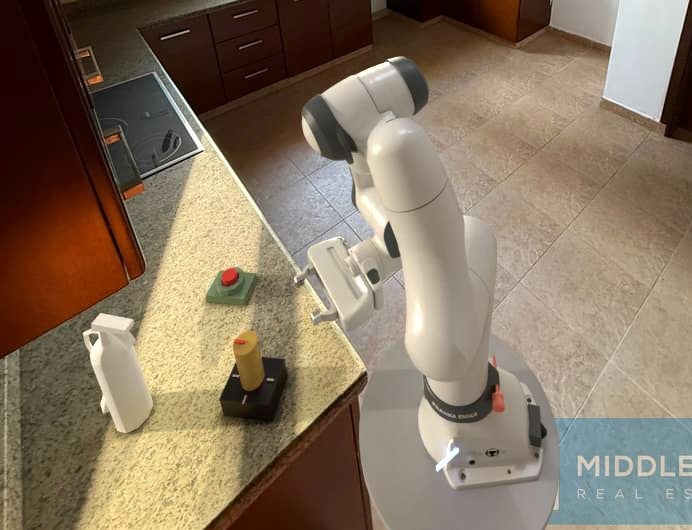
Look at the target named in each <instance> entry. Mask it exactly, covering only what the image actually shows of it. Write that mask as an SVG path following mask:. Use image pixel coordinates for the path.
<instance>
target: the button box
mask: <svg viewBox="0 0 692 530" xmlns="http://www.w3.org/2000/svg"><path fill="white" fill-rule="evenodd" d="M230 268H234V269H236V270H237V274H238V280H237V282H236V283H235V284H233V285H231V286H224V285H223V282H222V274H223V273H224V272H225V271H226V270H228V269H230ZM257 281H258V274H257V272H249V271H247V272H246V271H245V270H243V269H242V268H241V267H240V266H239V267H238V266H232V267H229V268H227V269H225V270H222V269H219V271H218V273H217V274H216V276H215V277H214V280H213V281H212V284H211V285H210V287H209V288H208V290H207V292H206V294H205V300H206V303H213V304H223V305H234V306H235V305H236V306H243V307H244V306H246V305H247V304H248V303H247V302H248V301H249V299H250V296H251V295H252V292H253V290H254V288H255V286H256V283H257Z"/></svg>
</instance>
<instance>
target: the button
mask: <svg viewBox="0 0 692 530" xmlns="http://www.w3.org/2000/svg"><path fill="white" fill-rule="evenodd" d="M229 268H230V269H229ZM229 268H227V269H228V270H226V269H225V270H226V271H225V270H224V271H225V272H224V273H223V274H222V282H223V285H224V286H231V285H233V284H235V283H236V282H237V280H238V274H237V270H236V269H234V268H232V267H229Z"/></svg>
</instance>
